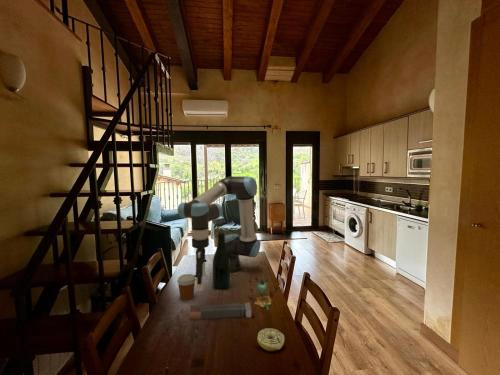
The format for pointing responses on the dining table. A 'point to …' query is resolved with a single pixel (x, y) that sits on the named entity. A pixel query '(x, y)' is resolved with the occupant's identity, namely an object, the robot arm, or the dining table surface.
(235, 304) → the tong arm far
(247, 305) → the tong hinge cap
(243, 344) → the dining table surface
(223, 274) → the beer bottle
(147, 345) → the dining table surface
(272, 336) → the decorated donut
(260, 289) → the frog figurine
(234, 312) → the tong arm near
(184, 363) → the dining table surface
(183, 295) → the disposable coffee cup
